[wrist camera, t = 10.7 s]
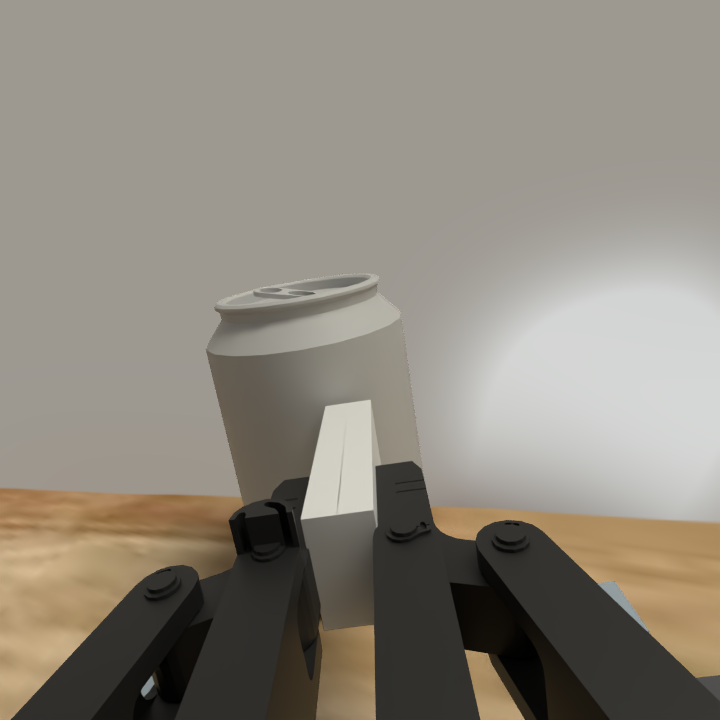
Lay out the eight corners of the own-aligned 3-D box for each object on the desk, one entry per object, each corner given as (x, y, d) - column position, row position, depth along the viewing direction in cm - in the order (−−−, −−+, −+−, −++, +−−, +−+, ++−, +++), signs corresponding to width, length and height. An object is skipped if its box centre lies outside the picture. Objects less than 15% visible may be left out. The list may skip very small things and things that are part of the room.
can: (422, 628, 18) (369, 287, 15) (230, 616, 20) (150, 314, 17) (442, 508, 25) (410, 259, 22) (299, 508, 27) (250, 281, 24)
